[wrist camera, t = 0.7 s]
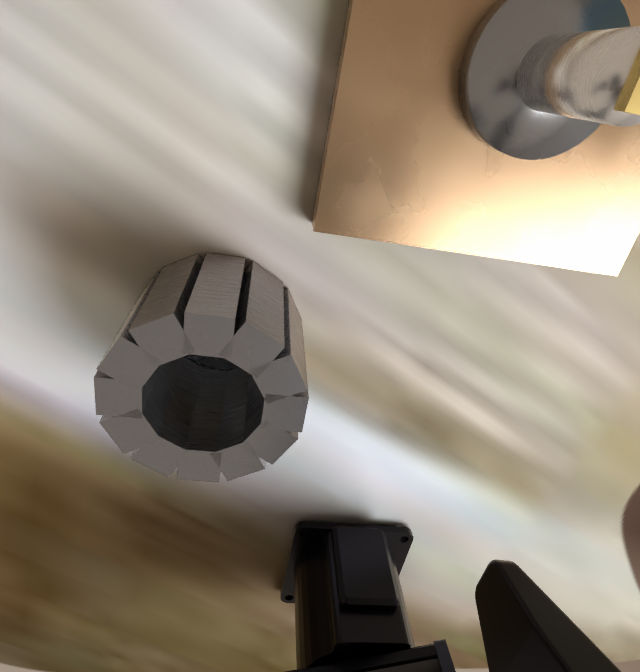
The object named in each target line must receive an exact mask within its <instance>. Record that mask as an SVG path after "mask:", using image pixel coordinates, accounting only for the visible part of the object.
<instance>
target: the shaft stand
mask: <svg viewBox="0 0 640 672" xmlns="http://www.w3.org/2000/svg"><path fill="white" fill-rule="evenodd" d="M312 226H313V231H315V232H322V233H329V234H335V235H342V236H349V237H356V238H362V239H369V240H376V241H382V242H389V243H396V244H403V245H409V246H416V247H423V248H430V249H436V250H443V251H450V252H456V253H463V254H470V255H477V256H483V257H490V258H497V259H504V260H510V261H517V262H524V263H531V264H537V265H544V266H551V267H557V268H564V269H571V270H578V271H584V272H591V273H598V274H605V275H611V276H618V274H619V272H620V270H621V268H622V266H623V264H624V262H625V260H626V258H627V256H628V254H629V252H630V250H631V248H632V246H633V244H634V242H635V240H636V238H637V236H638V234H639V232H640V0H349V6H348V12H347V18H346V24H345V30H344V36H343V42H342V48H341V54H340V59H339V65H338V71H337V77H336V83H335V89H334V95H333V101H332V107H331V113H330V119H329V125H328V131H327V137H326V143H325V149H324V154H323V160H322V166H321V172H320V178H319V184H318V190H317V196H316V202H315V208H314V214H313V220H312Z"/></svg>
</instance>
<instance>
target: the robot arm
mask: <svg viewBox="0 0 640 672" xmlns="http://www.w3.org/2000/svg"><path fill="white" fill-rule="evenodd" d="M412 541H413V535H412V531H411V530H410V529H409V528H407V527H394V526H377V525H360V524H343V523H325V522H308V521H303V522H299V523H297V524H296V525H295V527H294V531H293V536H292V541H291V545H290V550H289V554H288V559H287V564H286V568H285V573H284V577H283V582H282V587H281V600H282V601H283V602H285V603H295V625H296V658H297V670H292V671H286V672H456V671H455V668H454V665H453V662H452V659H451V656H450V653H449V650H448V647H447V644H446V641H445V639H443V640H437V641H433V642H434V644H429V645H424V646H418V647H415V644H414V640H413V636H412V632H411V627H410V623H409V619H408V615H407V610H406V606H405V602H404V597H403V593H402V589H401V585H400V580H399V574H400V571H401V569H402V566H403V564H404V561H405V559H406V556H407V554H408V551H409V549H410V546H411V544H412ZM475 599H476V605H477V610H478V615H479V620H480V626H481V631H482V636H483V641H484V646H485V652H486V657H487V662H488V667H489V672H621V671H620V670H619V669H618V668H617V667H616V666H615V664H614V663H613V662H612V661H611V660H610V659H609V658H608V657H607V656H606V655H605V654H604V653H603V652H602V651H601V650H600V649H599V648H598V647H597V646H596V645H595V644H594V643H593V642H592V641H591V640H590V639H589V638H588V637H587V636H586V635H585V634H584V633H583V632H582V631H581V630H580V629H579V628H578V627H577V626H576V625H575V624H574V623H573V622H572V621H571V619H570V618H569V617H568V616H567V615H566V614H565V613H564V612H563V611H562V610H561V609H560V608H559V607H558V606H557V605H556V604H555V603H554V602H553V601H552V600H551V599H550V598H549V597H548V596H547V595H546V594H545V593H544V592H543V591H542V590H541V589H540V588H539V587H538V586H537V585H536V584H535V583H534V582H533V581H532V580H531V579H530V578H529V577H528V576H527V574H526V573H525V572H524V571H523V570H522V569H521V568H520V567H519V566H518V565H516V564H515V563H514V562H511V561H504V560H492V561H491V562H490V563H489V564H488V566H487V568H486V570H485V571H484V573H483V575H482V577H481V579H480V580H479V582H478V584H477V586H476V591H475Z"/></svg>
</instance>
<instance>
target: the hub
mask: <svg viewBox="0 0 640 672" xmlns="http://www.w3.org/2000/svg"><path fill="white" fill-rule="evenodd" d="M244 267H245V258H244V257H236V256H229V255H222V254H214V253H207V254H206V256H205V259H204V262H203V261H202V259H201V257H200V255H199V253H198V254H196V255H193V256H190V257H188V258H185V259H183V260H180V261H178V262H175V263H172V264H170V265H167V266H165V267H163V269H162V271H161V273H159V272H157V273H156V275H155V276H154V277H153V279H152V280H151V282H150V283H149V284H148V286H147V287H146V288H145V290H144V291H143V293H142V294H141V295H140V297H139V298H138V300H137V302H136V303H135V305H134V307H133V308H132V310H131V312H130V313H129V315H128V317H127V318H126V320H125V322H124V323H123V325H122V327H121V328H120V330H119V332H118V334H117V335H116V337H115V339H114V340H113V342H112V344H111V345H110V347H109V349H108V350H107V352H106V354H105V355H104V357H103V359H102V360H101V362H100V364H99V366H98V367H97V370H98V371H97V373H96V375H95V376H94V386H95V403H96V415H103V416H102V418H101V420H100V422H99V423H100V424H101V425H102V426H103V428H104V429H105V430H106V432H107V433H108V434H109V435H110V437H111V438H112V439H113V440H114V442H115V443H116V444H117V446H118V447H119V448H120V449H121V451H122V452H123V453H126V452H129V451H132V450H134V451H133V454H132V456H131V459H132V460H134V461H136V462H138V463H140V464H142V465H144V466H147V467H149V468H151V469H153V470H155V471H157V472H159V473H161V474H163V475H165V476H167V477H168V476H169V475H170V474H171V473H172V472H173V471H174V470H175V469H176V468H177V466H178V469H177V479H181V480H196V481H210V482H219V477H220V470H221V472H222V473H223V475H224V476H225V478H226V479H227V481H229V480H232V479H235V478H238V477H241V476H244V475H247V474H250V473H254V472H257V471H260V470H263V469H265V461H267V462H269V463H271V464H273V463H274V462H275V461H276V460H277V459H278V458H279V457H280V456H281V455H282V454H283V453H284V452H285V451H286V450H287V449H288V448H289V447H290V446H291V445H292V444H293V443H294V442H295V441H296V440H297V439H298V432H302V429H303V424H304V419H305V414H306V409H307V404H308V399H309V397H308V385H307V374H306V363H305V352H304V341H303V330H302V321H301V317H300V314H299V312H298V310H297V307H296V305H295V303H294V301H293V298H292V296H291V294H290V292H289V289H285V290H283V282H282V281H281V280H279V279H278V278H276V277H275V276H274V275H272V274H271V273H269V272H268V271H267V270H265V269H264V268H263V267H261V266H260V265H258V264H257V263H256V262H254V261H253V262H252V263H251V264H250V266H249V267H248V268H247V269H246V271H245V272H244ZM189 354H191V355H201V356H210V357H220V358H225V359H227V360H228V361H230V362H232V363H233V364H235V365H236V366H238V368H235V369H232V370H229V371H226V370H216V369H206V368H203V367H201V366H200V365H198V364H196V363H195V362H193V361H191V360H190V359H188V358H186V357H185V356H187V355H189Z"/></svg>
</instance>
